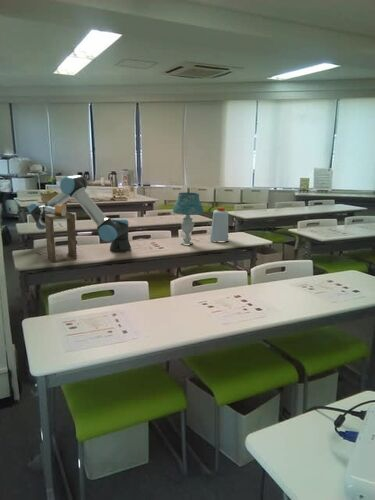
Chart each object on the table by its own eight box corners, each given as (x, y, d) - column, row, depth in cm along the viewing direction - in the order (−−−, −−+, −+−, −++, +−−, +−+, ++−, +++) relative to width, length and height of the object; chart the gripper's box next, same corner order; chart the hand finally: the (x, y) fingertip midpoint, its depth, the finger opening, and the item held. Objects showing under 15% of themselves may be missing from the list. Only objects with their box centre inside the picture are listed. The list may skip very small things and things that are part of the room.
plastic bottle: (209, 242, 301) (211, 208, 293) (210, 238, 315) (212, 205, 308) (228, 243, 300) (230, 209, 292) (228, 239, 314) (230, 206, 306)
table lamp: (207, 245, 291) (210, 195, 279) (182, 249, 278) (184, 196, 267) (190, 238, 310) (192, 191, 298) (166, 242, 297) (167, 192, 285)
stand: (71, 254, 254) (69, 212, 246) (76, 258, 246) (74, 214, 238) (47, 258, 245) (44, 214, 236) (52, 262, 237) (49, 216, 229)
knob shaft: (51, 209, 251) (51, 201, 249) (68, 214, 236) (68, 205, 235) (41, 211, 246) (41, 202, 244) (58, 216, 231) (58, 206, 230)
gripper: (64, 222, 269) (72, 211, 252) (28, 225, 255) (34, 215, 238) (62, 212, 270) (70, 201, 253) (26, 215, 256) (32, 204, 239)
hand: (53, 208), depth 246 cm, fingers open, 13 cm apart
